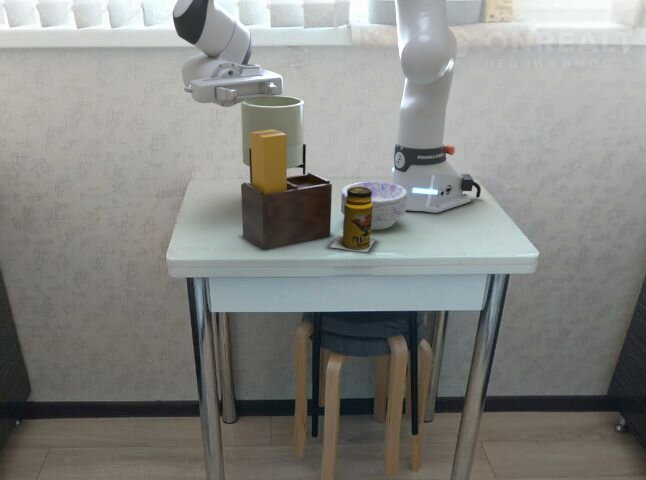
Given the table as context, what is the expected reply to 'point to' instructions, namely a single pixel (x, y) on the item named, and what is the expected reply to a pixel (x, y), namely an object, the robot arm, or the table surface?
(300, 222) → the rack
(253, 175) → the package
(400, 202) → the paper bowls
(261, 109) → the planter
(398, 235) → the table surface
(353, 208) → the condiment
